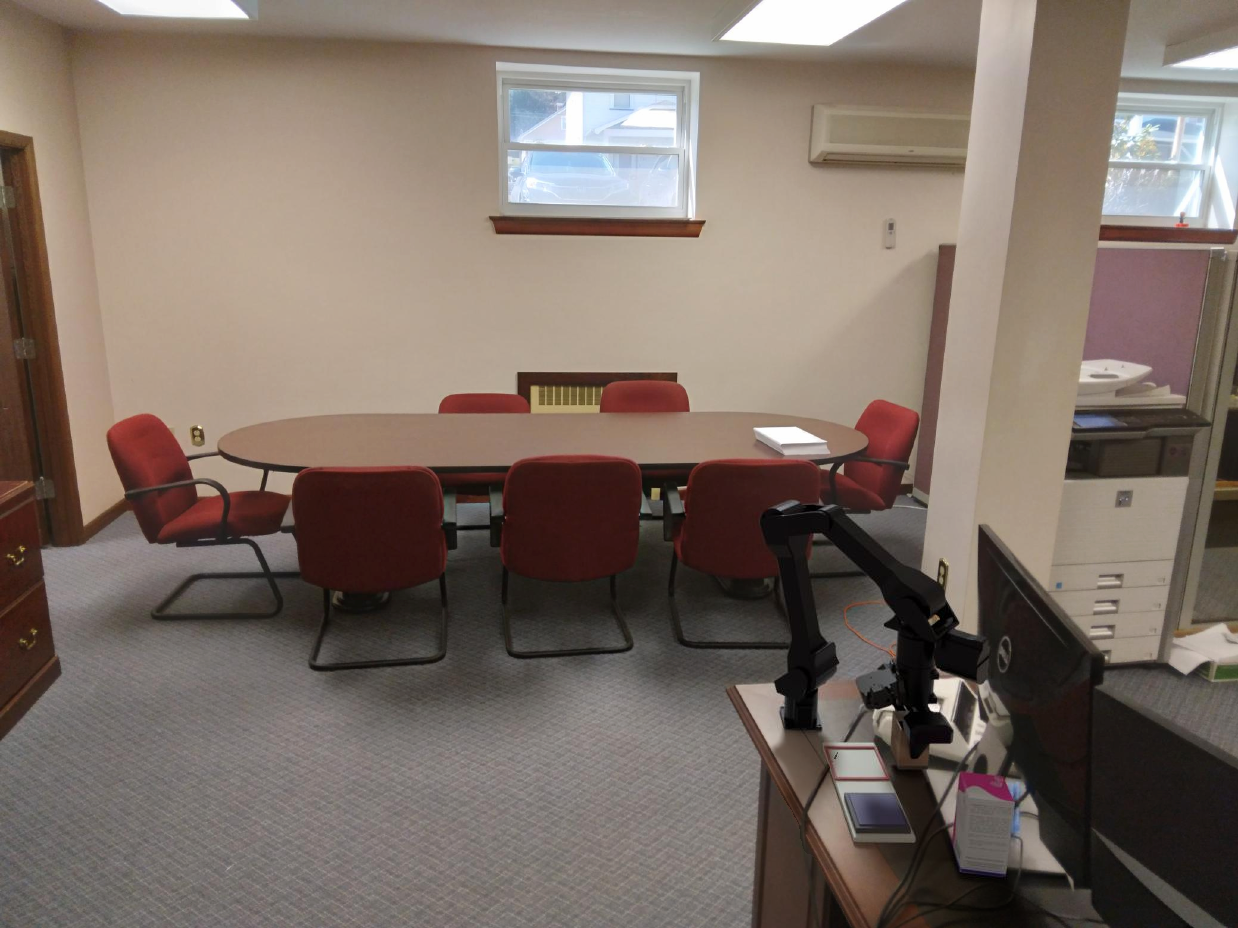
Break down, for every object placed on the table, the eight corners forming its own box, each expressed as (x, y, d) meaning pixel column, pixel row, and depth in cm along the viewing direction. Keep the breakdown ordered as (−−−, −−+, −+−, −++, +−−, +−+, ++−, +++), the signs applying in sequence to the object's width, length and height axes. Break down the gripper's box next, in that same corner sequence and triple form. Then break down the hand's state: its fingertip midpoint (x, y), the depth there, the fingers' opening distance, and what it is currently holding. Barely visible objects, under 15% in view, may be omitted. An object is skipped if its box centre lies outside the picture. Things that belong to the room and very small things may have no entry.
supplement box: (1007, 878, 102) (1016, 803, 99) (959, 872, 103) (966, 798, 100) (996, 846, 108) (1003, 774, 105) (950, 841, 109) (956, 769, 106)
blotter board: (822, 746, 131) (822, 736, 130) (873, 746, 130) (874, 736, 130) (853, 841, 109) (854, 830, 109) (915, 842, 109) (916, 830, 108)
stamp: (890, 751, 126) (892, 710, 125) (918, 751, 126) (921, 710, 124) (898, 769, 122) (901, 727, 120) (927, 769, 122) (930, 727, 120)
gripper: (847, 631, 129) (843, 715, 133) (878, 692, 111) (872, 787, 115) (916, 631, 128) (910, 715, 132) (958, 692, 110) (950, 787, 114)
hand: (909, 748), depth 124 cm, fingers closed on stamp, 4 cm apart
